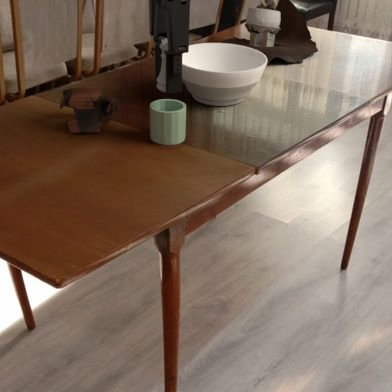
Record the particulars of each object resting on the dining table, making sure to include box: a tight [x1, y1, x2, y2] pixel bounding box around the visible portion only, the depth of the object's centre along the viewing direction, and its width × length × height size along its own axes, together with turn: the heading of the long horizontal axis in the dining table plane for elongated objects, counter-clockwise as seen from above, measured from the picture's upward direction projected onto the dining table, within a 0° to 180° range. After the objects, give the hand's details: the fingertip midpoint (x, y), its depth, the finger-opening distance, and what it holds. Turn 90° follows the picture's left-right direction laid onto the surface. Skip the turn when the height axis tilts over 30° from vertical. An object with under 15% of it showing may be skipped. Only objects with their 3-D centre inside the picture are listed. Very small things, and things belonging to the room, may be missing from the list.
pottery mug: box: [59, 86, 120, 134], centre depth 119 cm, size 12×10×8 cm
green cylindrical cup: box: [149, 98, 187, 146], centre depth 116 cm, size 7×7×6 cm
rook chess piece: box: [156, 38, 168, 93], centre depth 109 cm, size 4×4×8 cm
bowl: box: [182, 42, 267, 107], centre depth 132 cm, size 19×20×8 cm
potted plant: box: [221, 0, 320, 67], centre depth 155 cm, size 20×19×25 cm
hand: (168, 86), depth 112 cm, fingers closed on rook chess piece, 4 cm apart
